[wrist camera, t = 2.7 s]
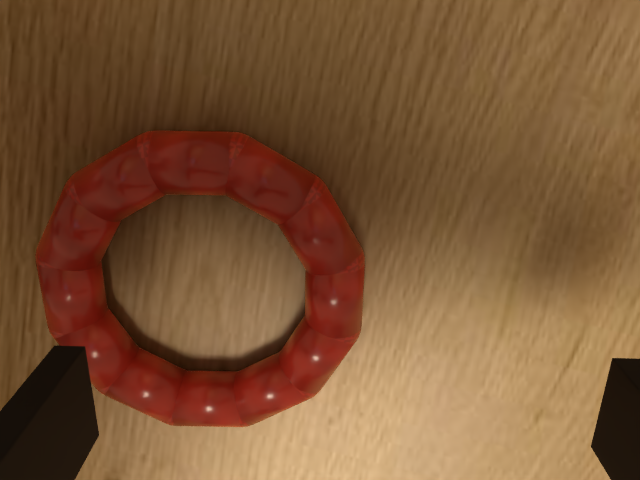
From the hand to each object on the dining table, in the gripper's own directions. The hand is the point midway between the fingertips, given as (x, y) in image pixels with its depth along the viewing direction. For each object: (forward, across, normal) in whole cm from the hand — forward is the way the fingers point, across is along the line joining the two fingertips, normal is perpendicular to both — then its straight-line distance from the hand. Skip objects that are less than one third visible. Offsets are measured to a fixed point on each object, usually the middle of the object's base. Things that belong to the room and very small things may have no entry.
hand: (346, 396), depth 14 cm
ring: (+6, -5, 0) cm, 7 cm away
